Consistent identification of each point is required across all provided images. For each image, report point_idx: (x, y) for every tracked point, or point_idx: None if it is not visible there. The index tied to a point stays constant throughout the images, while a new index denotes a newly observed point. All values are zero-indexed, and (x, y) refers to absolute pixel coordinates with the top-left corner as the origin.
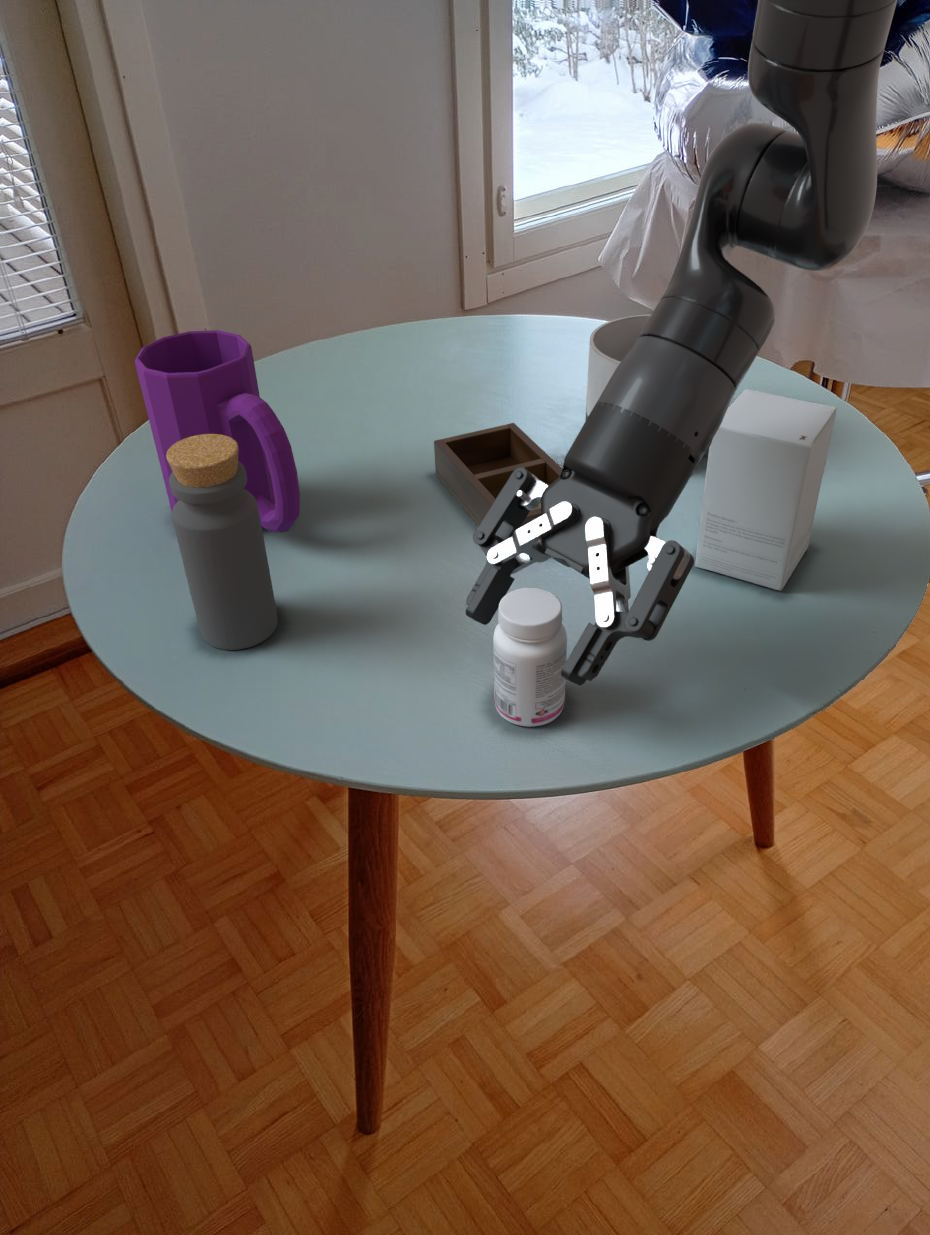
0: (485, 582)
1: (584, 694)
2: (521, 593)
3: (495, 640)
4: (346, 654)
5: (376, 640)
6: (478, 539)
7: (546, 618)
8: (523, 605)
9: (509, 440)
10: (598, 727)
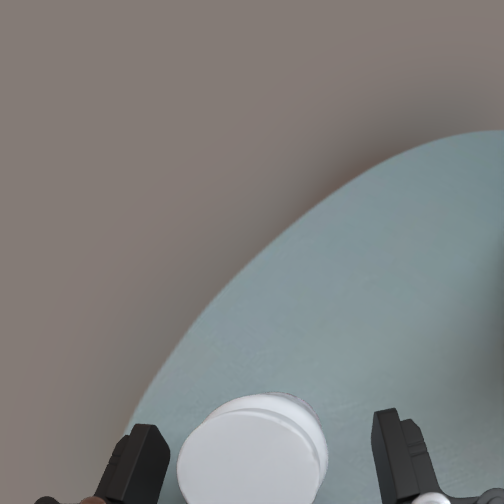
0: (402, 463)
1: None
2: (295, 493)
3: (286, 402)
4: (485, 295)
5: (490, 338)
6: (492, 498)
7: (185, 468)
8: (254, 468)
9: None
10: None
